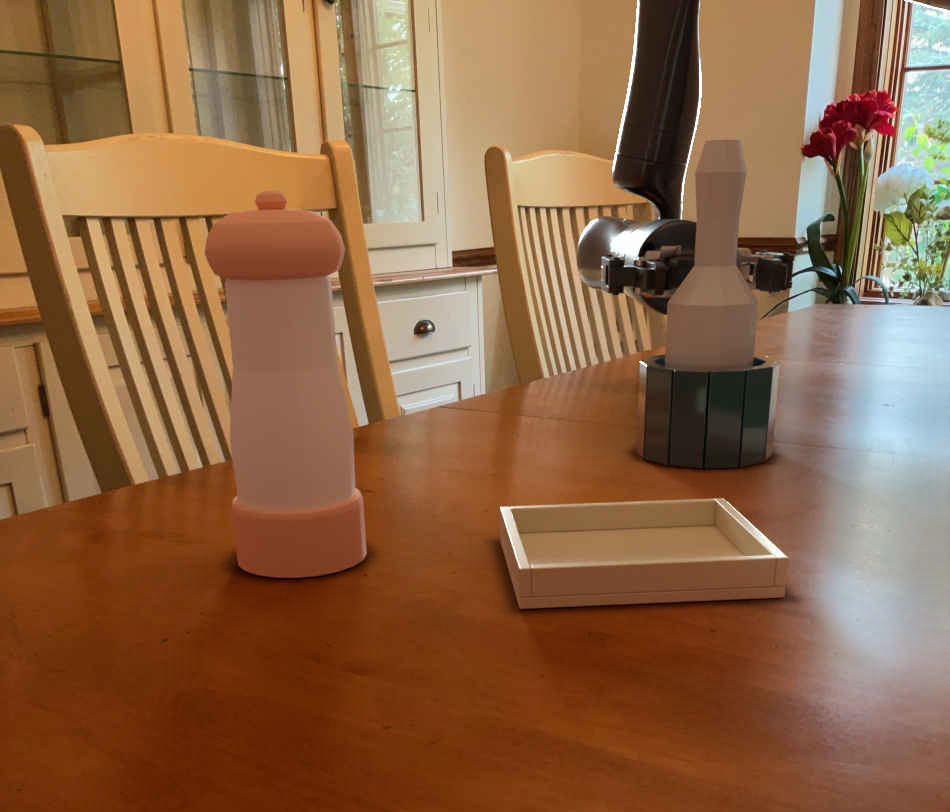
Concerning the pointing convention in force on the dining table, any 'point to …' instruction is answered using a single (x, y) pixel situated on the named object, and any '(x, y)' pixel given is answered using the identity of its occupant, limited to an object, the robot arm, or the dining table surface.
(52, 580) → the dining table surface
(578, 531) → the tray
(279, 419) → the salt shaker
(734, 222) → the faceted bottle
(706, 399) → the holder
